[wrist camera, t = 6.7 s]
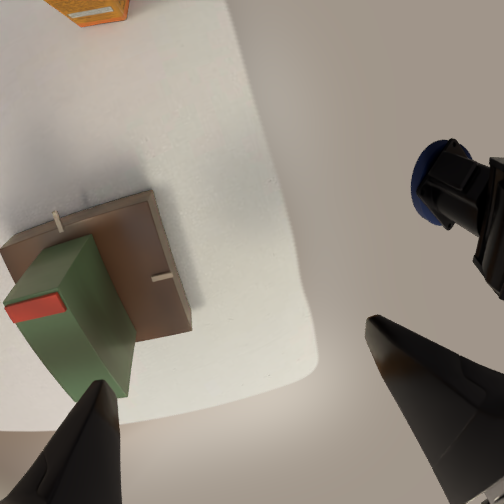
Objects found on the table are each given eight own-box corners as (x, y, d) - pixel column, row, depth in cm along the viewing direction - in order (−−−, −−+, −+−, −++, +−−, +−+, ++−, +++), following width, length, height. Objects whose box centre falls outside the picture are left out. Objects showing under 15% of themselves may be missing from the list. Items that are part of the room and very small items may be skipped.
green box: (136, 331, 21) (127, 400, 15) (91, 340, 20) (74, 405, 15) (91, 233, 17) (56, 290, 11) (42, 249, 17) (0, 305, 11)
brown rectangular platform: (149, 172, 18) (143, 182, 16) (196, 320, 24) (198, 342, 22) (7, 222, 17) (-10, 237, 15) (70, 344, 23) (63, 365, 21)
